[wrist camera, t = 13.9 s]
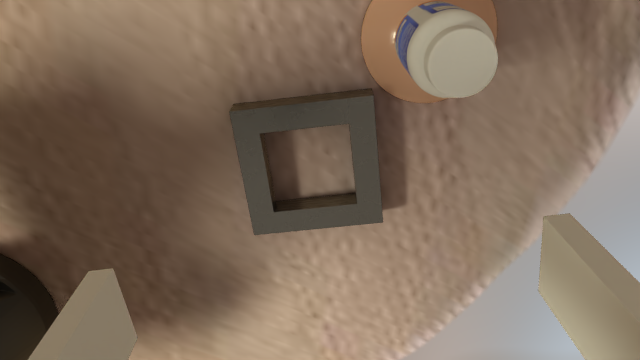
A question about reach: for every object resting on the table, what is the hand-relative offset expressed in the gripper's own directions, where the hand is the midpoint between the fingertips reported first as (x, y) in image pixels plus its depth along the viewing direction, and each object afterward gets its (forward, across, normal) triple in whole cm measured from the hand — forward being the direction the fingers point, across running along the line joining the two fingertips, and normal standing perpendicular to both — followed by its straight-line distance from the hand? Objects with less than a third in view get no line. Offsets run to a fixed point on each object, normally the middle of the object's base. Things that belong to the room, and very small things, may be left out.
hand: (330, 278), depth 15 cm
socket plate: (+26, -1, -6) cm, 27 cm away
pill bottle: (+25, +9, +2) cm, 27 cm away
